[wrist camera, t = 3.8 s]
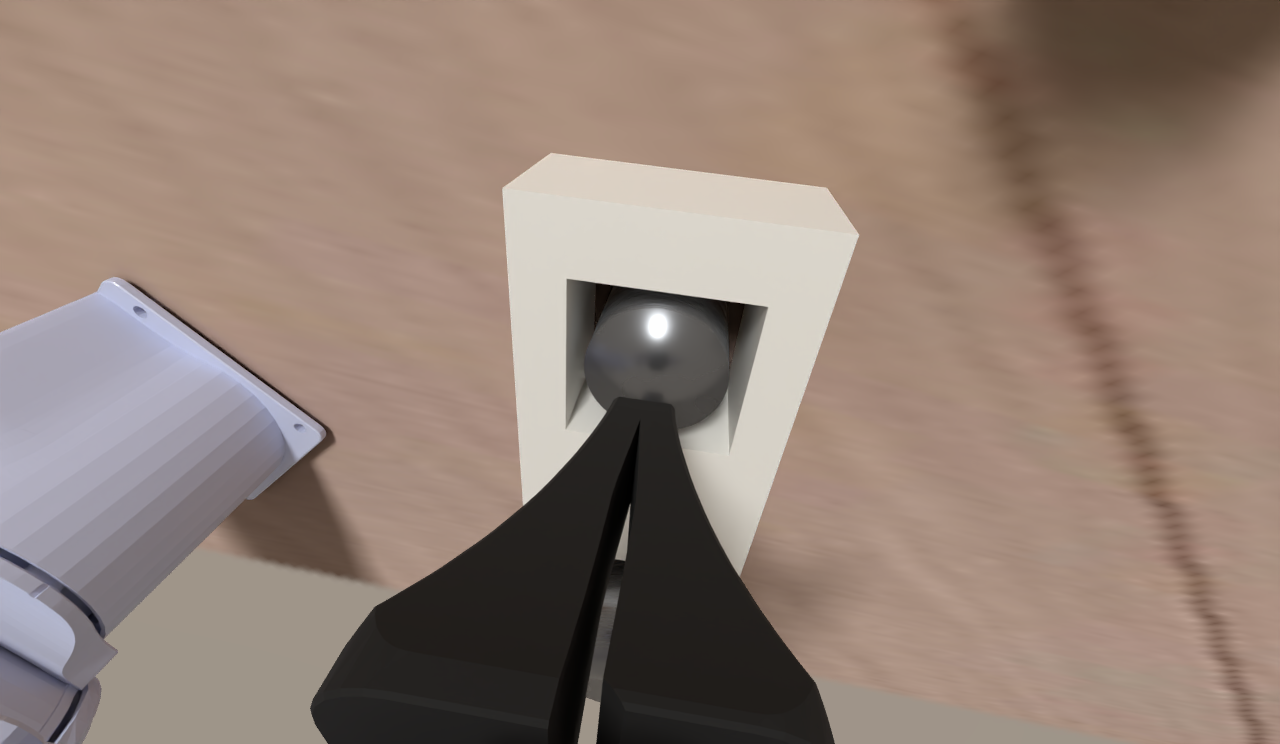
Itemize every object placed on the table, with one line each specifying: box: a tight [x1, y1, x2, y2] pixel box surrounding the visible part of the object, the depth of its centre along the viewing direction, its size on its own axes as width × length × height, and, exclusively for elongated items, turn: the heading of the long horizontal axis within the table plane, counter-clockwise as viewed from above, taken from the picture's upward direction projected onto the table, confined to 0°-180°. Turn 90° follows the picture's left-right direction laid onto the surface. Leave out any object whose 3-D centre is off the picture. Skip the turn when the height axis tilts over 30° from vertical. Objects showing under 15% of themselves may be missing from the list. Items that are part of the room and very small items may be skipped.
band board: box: [502, 153, 859, 577], centre depth 18 cm, size 20×8×4 cm, turn 174°
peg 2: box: [584, 285, 730, 429], centre depth 15 cm, size 4×4×4 cm
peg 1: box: [586, 559, 625, 702], centre depth 19 cm, size 4×4×4 cm
